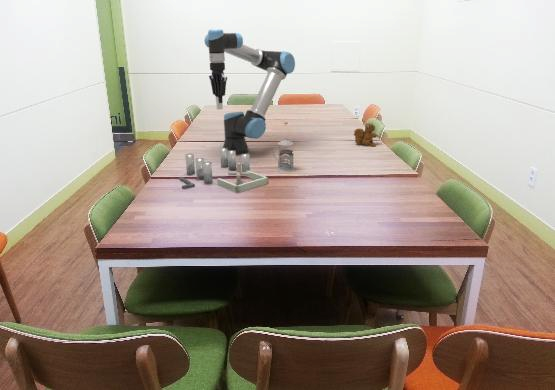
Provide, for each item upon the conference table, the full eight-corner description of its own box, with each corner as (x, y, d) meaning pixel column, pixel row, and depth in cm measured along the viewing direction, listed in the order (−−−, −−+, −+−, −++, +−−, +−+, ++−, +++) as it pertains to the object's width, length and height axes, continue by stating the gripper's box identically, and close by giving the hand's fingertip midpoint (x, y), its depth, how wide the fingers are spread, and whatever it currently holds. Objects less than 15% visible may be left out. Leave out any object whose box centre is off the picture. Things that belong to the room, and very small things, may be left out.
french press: (293, 172, 228) (293, 123, 219) (271, 171, 230) (270, 123, 222) (296, 167, 237) (297, 119, 228) (275, 165, 239) (274, 119, 231)
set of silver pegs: (224, 164, 243) (223, 146, 240) (251, 173, 227) (251, 154, 224) (182, 174, 227) (181, 155, 224) (208, 185, 211) (207, 165, 208)
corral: (248, 176, 224) (248, 170, 223) (268, 183, 213) (268, 177, 212) (217, 184, 212) (217, 178, 211) (237, 192, 202) (236, 186, 200)
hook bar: (170, 181, 217) (170, 178, 217) (181, 179, 220) (181, 176, 220) (183, 189, 207) (183, 186, 206) (194, 186, 210) (194, 184, 209)
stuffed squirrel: (376, 147, 275) (378, 125, 270) (353, 146, 277) (354, 125, 272) (375, 143, 284) (377, 122, 279) (353, 142, 286) (354, 121, 281)
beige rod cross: (227, 187, 208) (227, 166, 204) (228, 179, 217) (228, 159, 214) (248, 187, 209) (249, 167, 205) (249, 180, 218) (250, 160, 214)
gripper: (203, 61, 228) (206, 108, 237) (218, 63, 219) (221, 111, 228) (215, 61, 233) (218, 106, 241) (230, 62, 224) (233, 109, 232)
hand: (219, 109), depth 234 cm, fingers closed
